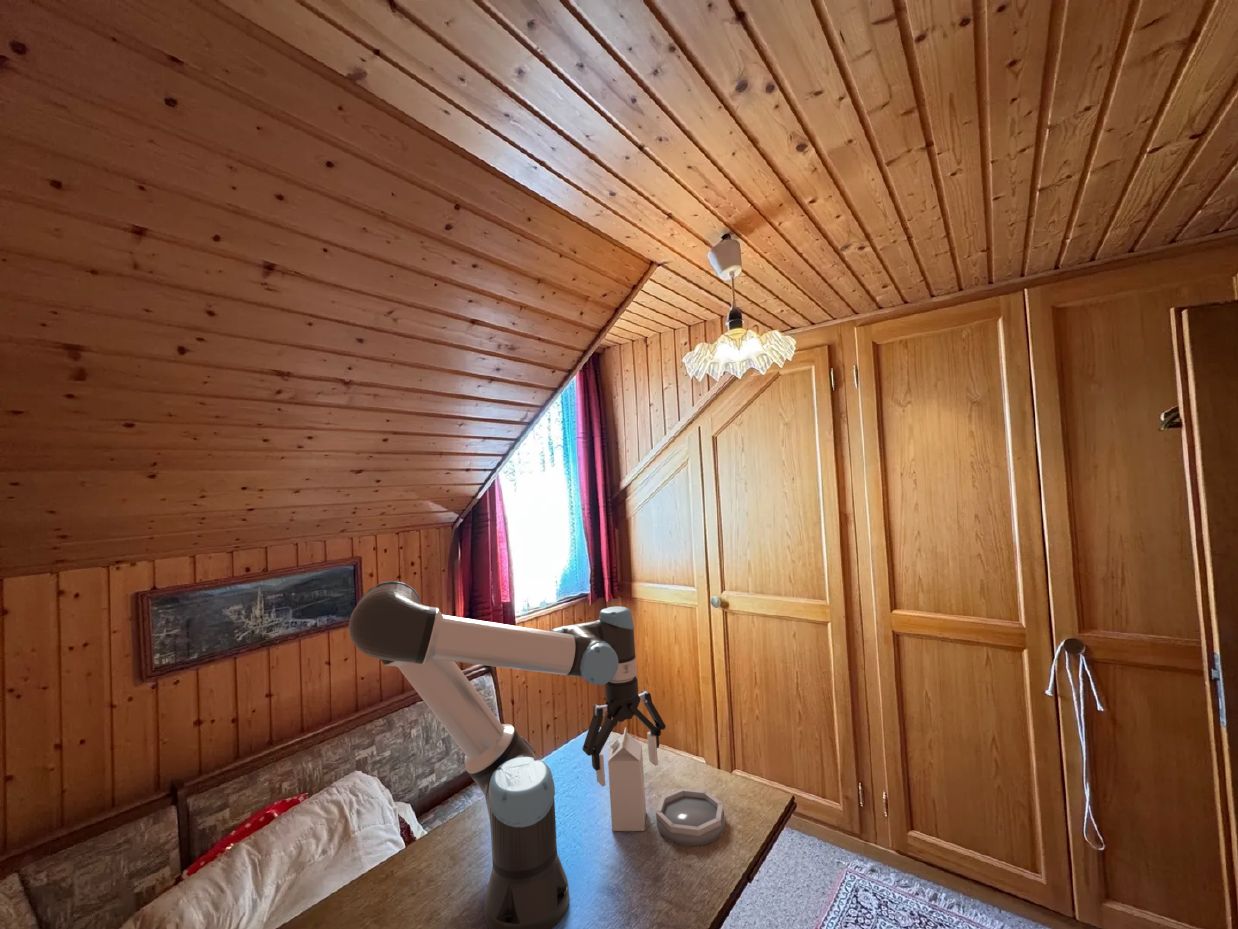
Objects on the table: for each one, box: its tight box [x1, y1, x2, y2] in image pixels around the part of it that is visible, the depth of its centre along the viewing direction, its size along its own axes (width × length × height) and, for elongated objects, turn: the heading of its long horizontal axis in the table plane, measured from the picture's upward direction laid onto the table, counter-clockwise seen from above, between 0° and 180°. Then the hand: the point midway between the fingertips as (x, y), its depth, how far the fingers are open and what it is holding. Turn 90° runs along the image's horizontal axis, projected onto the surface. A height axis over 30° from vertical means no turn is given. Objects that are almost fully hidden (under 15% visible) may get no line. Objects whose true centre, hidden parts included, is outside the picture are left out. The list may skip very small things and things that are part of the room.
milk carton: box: [607, 727, 647, 832], centre depth 115 cm, size 7×7×19 cm
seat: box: [655, 787, 726, 847], centre depth 113 cm, size 15×15×3 cm
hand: (628, 773), depth 115 cm, fingers open, 13 cm apart
